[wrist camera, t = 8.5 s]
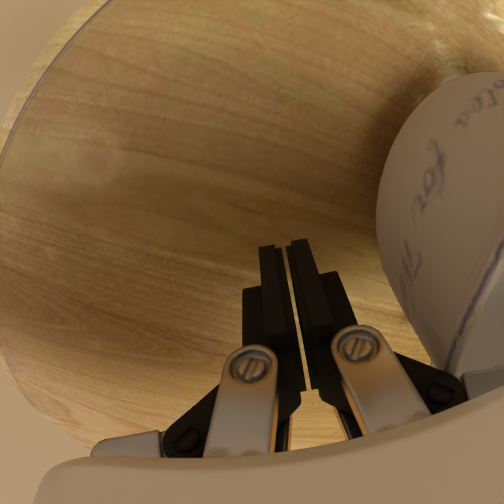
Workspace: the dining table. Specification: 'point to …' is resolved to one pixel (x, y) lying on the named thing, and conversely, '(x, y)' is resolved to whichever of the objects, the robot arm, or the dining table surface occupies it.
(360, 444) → the robot arm
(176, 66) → the dining table surface
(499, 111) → the teacup
